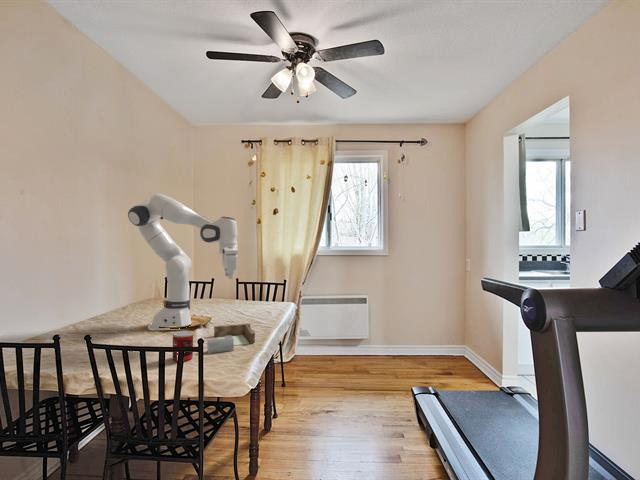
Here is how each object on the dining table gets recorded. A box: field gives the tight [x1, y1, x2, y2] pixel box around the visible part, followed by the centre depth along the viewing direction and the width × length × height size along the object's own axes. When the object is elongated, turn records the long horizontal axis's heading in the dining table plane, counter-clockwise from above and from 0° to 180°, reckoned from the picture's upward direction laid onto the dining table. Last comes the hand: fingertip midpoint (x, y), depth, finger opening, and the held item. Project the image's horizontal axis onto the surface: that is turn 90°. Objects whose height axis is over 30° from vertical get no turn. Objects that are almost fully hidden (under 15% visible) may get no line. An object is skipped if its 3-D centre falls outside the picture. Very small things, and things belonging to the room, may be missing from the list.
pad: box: [216, 334, 250, 346], centre depth 177 cm, size 13×14×1 cm
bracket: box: [206, 335, 235, 354], centre depth 164 cm, size 11×7×5 cm, turn 113°
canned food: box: [172, 330, 194, 363], centre depth 151 cm, size 8×8×11 cm
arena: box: [213, 323, 256, 345], centre depth 179 cm, size 18×18×5 cm
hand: (228, 277), depth 180 cm, fingers open, 8 cm apart
